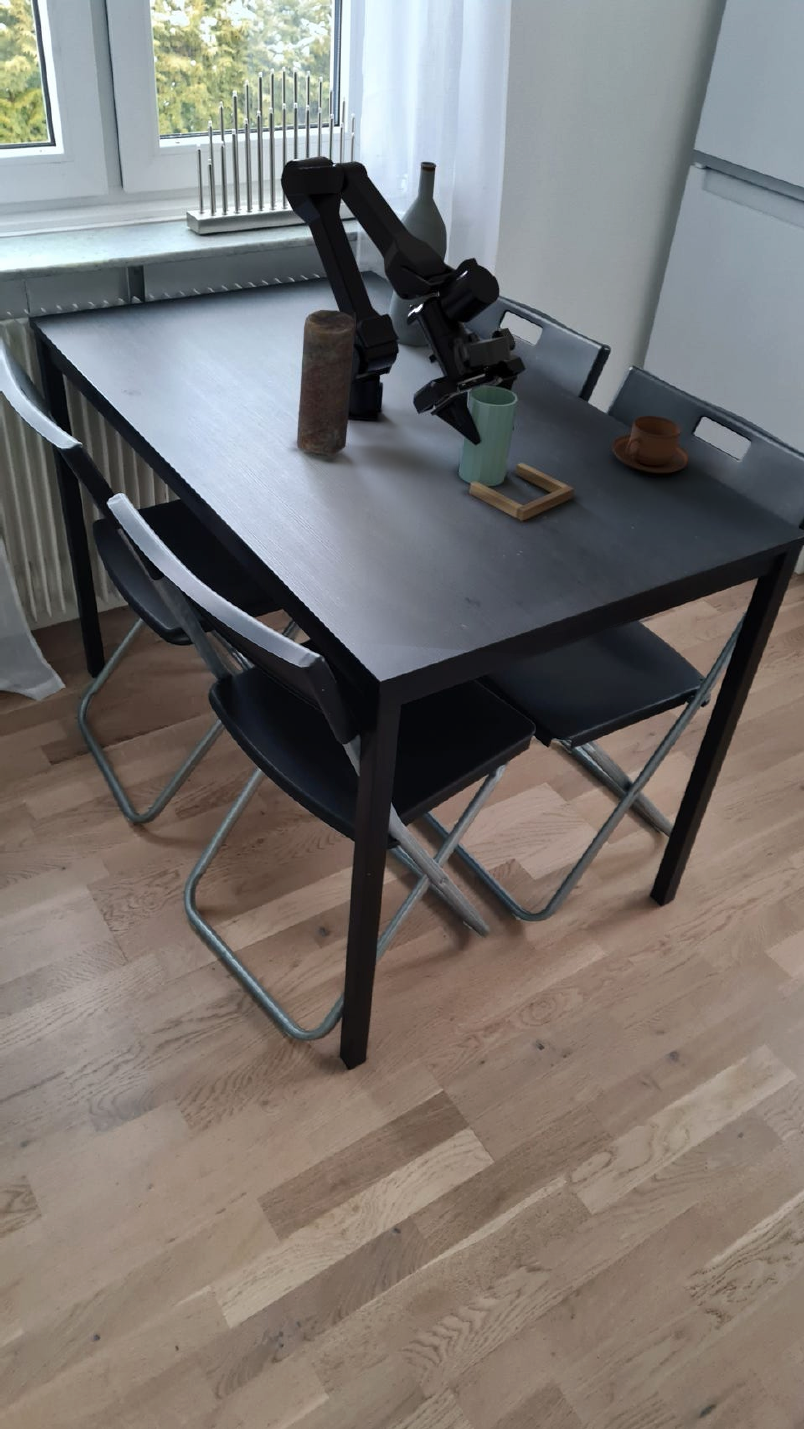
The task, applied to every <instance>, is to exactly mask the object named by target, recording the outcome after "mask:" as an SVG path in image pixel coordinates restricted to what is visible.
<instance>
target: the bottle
mask: <svg viewBox="0 0 804 1429" xmlns="http://www.w3.org/2000/svg"><path fill="white" fill-rule="evenodd" d="M419 165H420V168H419V169H420V170H419V178H418V179H419V180H418V188H417V196H416V198H415V199H414V200H413V202H412V203H411V204H410V206H409V207H408V209H407V210H406V212H405V213H404V214H403V216H402V218H400V221H401V222H402V223H403V225H404V226H405V227H406V229H407V230H408V231H409V232H410V233H411V234H412V235H413V236H415V237H416V238H418V239H420V240H422V241H424V242H426V243H427V244H429V245H430V246H431V247H432V248H433V249H434V250H435V251H436V252H437V253H438V254H439V255H440V256H441V258H442V259H443V261H444V262H445V259H446V255H447V251H448V250H447V249H448V245H447V244H448V241H447V240H448V233H447V226H446V224H445V221H444V219H443V216H442V214H441V213H440V210H439V208H438V206H437V204H436V201H435V199H434V191H435V179H436V169H437V164H436V163H435V162H432V161H421V162H420V164H419ZM433 296H437V297H438V296H440V295H439V292H438V293H436V294H432V295H428V296H424V297H420V298H416V299H412V300H405V299H404V300H403V299H401V298H400V297H399V296H398V295H397V294H396V292H395V291H394V290H393V292H392V297H391V300H390V304H389V305H390V306H389V310H388V314H389V316H390V317H391V319H392V323H393V327H394V330H395V332H396V334H397V336H398V337H399V339H398V340H397V342H398V344H402V345H406V346H413V347H420V346H422V347H423V346H428V345H429V343H428V341H427V339H426V337H425V335H424V333H423V331H422V328H421V326H420V324H419V323H417V324H413V325H407V318H408V315H409V313H410V306H411V305H415V304H419V303H423V302H424V301H426V300H427V299H428V298H430V297H433Z"/></svg>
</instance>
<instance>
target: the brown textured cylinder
mask: <svg viewBox="0 0 804 1429" xmlns="http://www.w3.org/2000/svg"><path fill="white" fill-rule="evenodd" d="M354 334H355V322H354V319H353V318H352V317H351V316H349V315H347V314H345V313H343V312H340V311H339V310H338V309H335V310H334V309H333V310H331V309H319V310H315V311H313V312H312V313H309V314H308V315H307V316H306V317H305V320H304V325H303V336H302V337H303V338H302V340H303V341H302V357H301V372H300V373H301V374H300V390H299V391H300V392H299V406H298V417H297V418H298V419H297V432H296V433H297V434H296V446H297V448H298V449H299V450H300V451H303V452H306V453H307V452H308V453H312V454H315V455H316V456H321V457H328V456H330V455H335V454H337V453H338V452H340V451H342V450H343V449H345V448H346V445H347V435H348V434H347V433H348V424H349V423H348V422H349V418H348V410H349V397H350V382H351V369H352V358H353V346H354Z"/></svg>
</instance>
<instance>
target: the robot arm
mask: <svg viewBox="0 0 804 1429" xmlns="http://www.w3.org/2000/svg"><path fill="white" fill-rule="evenodd" d="M280 185H281V189H282V192H283V194H284V196H285V198H286V201H287V202H288V204H289V206H290V208H291V210H292V212H294V214H296V215H297V216H298V217H299V218H300V219H301V220H302V221H303V222H304V223H305V224H306V225H307V226H308V228H309V230H310V234H311V236H312V239H313V242H314V245H315V247H316V250H317V253H318V256H319V258H320V260H321V264H322V268H323V269H324V272H325V275H326V277H327V278H326V279H327V282H328V283H329V287H330V289H331V292H332V294H333V297H334V300H335V304H336V305H337V308H338V311H340V312H343V313H345V314H347V315H349V316H351V317H352V318H353V319H354V322H355V334H354V346H353V358H352V369H351V382H350V397H349V410H348V419H354V420H365V421H378V420H379V414H381V413H382V408H383V396H384V395H383V394H384V383H383V381H381V376H383V375H388V374H390V372H391V370H392V368H393V365H394V364H395V362H396V361H397V359H398V358H397V357H398V354H399V353H400V347H399V343H398V342H397V340H398V339H399V337H398V336H397V334H396V332H395V330H394V327H393V323H392V319H391V317H390V316H389V313H384V314H380V313H379V312H378V311H377V310H376V309H375V308H374V306H373V304H372V303H371V300H370V297H369V294H368V290H367V289H366V285H365V283H364V280H363V277H362V274H361V271H360V268H359V265H358V263H357V262H358V261H357V260H356V257H355V254H354V251H353V248H352V246H351V243H350V239H349V237H348V234H347V231H346V229H345V226H344V223H343V220H342V217H341V213H340V212H341V204H342V202H343V203H344V205H345V206H346V207H347V209H348V210H349V212H350V213H351V214H352V216H353V217H354V218H355V220H356V222H357V223H358V224H359V225H360V227H361V228H362V230H363V231H364V232H365V234H366V235H367V236H368V237H369V239H370V241H371V242H372V243H373V244H374V246H375V247H376V249H377V250H378V252H379V254H380V255H381V257H382V259H383V268H384V274H385V276H386V278H387V280H388V281H389V283H390V285H391V287H392V289H393V291H395V292H396V294H397V295H398V296H399V297H400V298H401V299H403V300H404V299H405V300H412V299H416V298H420V297H424V296H428V295H432V294H436V293H438V292H439V296H438V297H437V296H433V297H430V298H428V299H427V300H426V301H424V302H423V303H419V304H415V305H411V306H410V313H409V315H408V318H407V325H413V324H417V323H419V324H420V326H421V328H422V331H423V333H424V335H425V337H426V339H427V341H428V343H429V344H428V345H429V348H430V349H431V352H432V353H431V354H430V355H429V356H428V359H429V361H430V364H435V363H437V365H438V368H439V369H440V371H441V373H442V375H443V376H441V377H437V378H434V379H431V380H430V381H428V382H427V383H426V384H425V385H423V386H422V387H421V388H419V389H418V390H417V391H415V392H414V393H413V401H412V404H413V406H414V408H415V410H416V413H417V414H418V415H420V414H423V413H426V412H430V415H431V416H432V417H433V416H435V417H436V416H437V418H439V419H440V420H442V421H444V422H445V423H446V424H447V425H449V426H451V428H453V429H454V430H455V431H457V432H458V433H459V434H461V435H462V437H463V436H464V437H466V438H467V439H468V440H469V441H471V442H472V443H473V444H474V445H478V444H479V443H481V439H480V436H479V433H478V430H477V428H476V426H475V423H474V421H473V419H472V416H471V414H470V412H469V409H468V407H467V404H468V397H469V391H471V390H472V389H473V388H476V387H479V386H496V387H500V388H504V389H507V390H509V391H511V392H512V388H513V385H514V383H515V381H517V380H518V375H521V374H522V373H523V372H524V371H526V370H527V369H526V366H525V364H524V362H523V360H522V357H521V356H518V355H516V354H511V352H512V351H514V350H515V349H516V341H515V338H514V336H513V334H512V332H511V330H510V329H509V327H504V328H500V329H496V330H493V331H492V334H491V337H490V338H487V339H482V340H481V339H480V336H479V335H478V334H477V333H476V332H475V331H474V332H470V333H469V332H468V329H467V328H466V325H465V324H466V323H470V322H471V321H473V320H474V319H475V318H477V317H478V316H479V315H481V313H483V312H484V311H486V310H487V309H488V308H489V307H491V306H492V305H493V304H494V303H495V302H497V301H498V299H499V296H500V290H501V289H500V284H499V282H498V279H497V277H496V276H495V275H493V274H492V272H491V271H489V270H488V268H486V267H485V266H482V265H480V264H478V261H477V259H476V257H471V258H466V259H464V260H463V261H462V262H460V263H459V265H458V266H457V267H456V268H454V267H452V266H450V265H449V264H447V263H445V260H444V261H443V259H442V258H441V256H440V255H439V254H438V253H437V252H436V251H435V250H434V249H433V248H432V247H431V246H430V245H429V244H427V243H426V242H424V241H422V240H420V239H418V238H416V237H415V236H413V235H412V234H411V233H410V232H409V231H408V230H407V229H406V227H405V226H404V225H403V223H402V222H401V221H400V220H401V218H399V216H398V215H397V213H396V212H395V210H393V208H392V207H391V205H390V204H389V203H388V202H387V200H386V198H385V197H384V196H383V195H382V193H381V191H380V190H379V189H378V188H377V186H376V185H375V183H374V182H373V181H372V180H371V178H370V176H369V174H368V170H367V168H366V166H365V165H364V164H363V163H362V162H359V161H356V160H355V161H345V162H334V161H333V160H332V159H330V158H328V157H326V156H323V155H322V156H321V155H320V156H313V157H303V158H297V159H291V160H288V161H287V162H286V163H285V164H284V166H283V169H282V172H281V176H280ZM514 426H515V425H514ZM514 426H513V431H514V430H515V427H514Z"/></svg>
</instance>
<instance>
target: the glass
mask: <svg viewBox="0 0 804 1429" xmlns="http://www.w3.org/2000/svg"><path fill="white" fill-rule="evenodd" d="M518 399H519V398H518V395H517V394H516V393H514V392H513V391H512V390H511V391H509V390H507V389H504V388H500V387H496V386H479V387H476V388H473V389H470V390H469V391H468V399H467V407H468V409H469V412H470V414H471V416H472V419H473V421H474V423H475V426H476V428H477V430H478V433H479V436H480V439H481V443H479V444H478V445H474V444H473V443H472V442H471V441H469V440H468V439H467V438H466V437H464V436H463V435H462V444H461V452H460V459H459V465H458V468H459V469H458V476H459V478H461V479H462V480H463V481H464V482H466V483H468V484H471V483H473V482H475V481H477V482H479V483H480V484H482V485H484V486H486V487H495V486H498V485H500V484H502V483H503V482H504V481H505V478H506V475H507V471H508V470H507V468H508V463H509V457H510V451H511V444H512V439H513V432H514V430H513V426H515V418H516V413H517V407H518V401H519V400H518Z"/></svg>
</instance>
